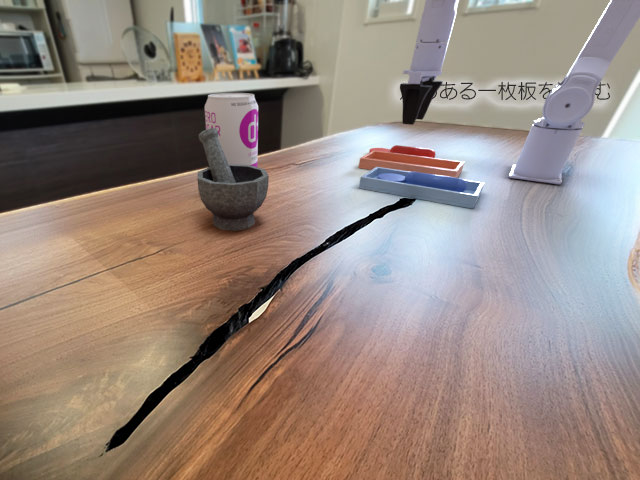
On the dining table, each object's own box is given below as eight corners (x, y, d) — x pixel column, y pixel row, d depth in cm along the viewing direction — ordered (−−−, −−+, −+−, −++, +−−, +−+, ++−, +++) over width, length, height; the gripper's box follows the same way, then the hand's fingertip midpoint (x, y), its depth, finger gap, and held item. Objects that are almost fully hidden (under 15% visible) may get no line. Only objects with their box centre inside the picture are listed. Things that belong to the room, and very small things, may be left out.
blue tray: (374, 177, 70) (376, 166, 68) (480, 194, 61) (485, 182, 60) (358, 188, 64) (360, 176, 63) (472, 208, 55) (477, 196, 54)
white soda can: (265, 190, 64) (267, 93, 55) (240, 204, 58) (239, 99, 49) (227, 183, 67) (224, 91, 59) (200, 196, 62) (192, 96, 53)
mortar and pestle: (280, 223, 51) (285, 132, 45) (230, 242, 47) (227, 143, 40) (230, 203, 59) (228, 122, 52) (182, 218, 54) (173, 130, 47)
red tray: (371, 159, 81) (373, 150, 79) (461, 172, 72) (464, 161, 71) (358, 167, 75) (359, 157, 74) (453, 182, 66) (457, 171, 65)
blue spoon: (465, 191, 60) (471, 176, 59) (460, 199, 57) (466, 183, 56) (381, 178, 67) (384, 164, 66) (372, 184, 64) (375, 169, 63)
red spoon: (435, 160, 80) (439, 147, 78) (430, 164, 76) (434, 152, 75) (372, 152, 87) (374, 140, 85) (365, 156, 83) (367, 144, 82)
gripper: (419, 43, 75) (403, 115, 83) (399, 42, 65) (383, 124, 73) (456, 42, 72) (436, 118, 79) (441, 42, 62) (419, 128, 70)
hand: (412, 121), depth 76 cm, fingers open, 7 cm apart
